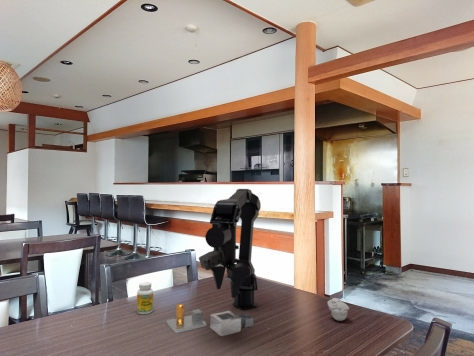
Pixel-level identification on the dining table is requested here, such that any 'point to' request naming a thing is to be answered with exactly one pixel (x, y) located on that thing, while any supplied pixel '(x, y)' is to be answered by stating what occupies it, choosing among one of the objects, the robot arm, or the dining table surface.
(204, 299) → the dining table surface
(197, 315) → the peg stand
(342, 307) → the grey stone carving
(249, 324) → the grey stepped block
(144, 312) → the supplement bottle
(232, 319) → the grey square frame
